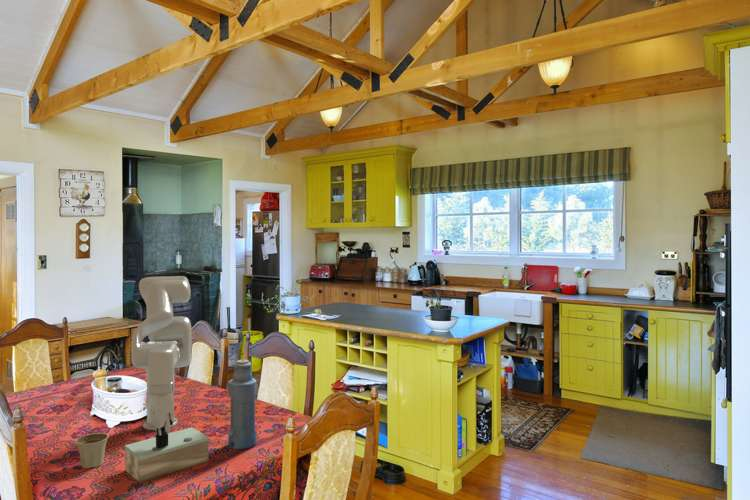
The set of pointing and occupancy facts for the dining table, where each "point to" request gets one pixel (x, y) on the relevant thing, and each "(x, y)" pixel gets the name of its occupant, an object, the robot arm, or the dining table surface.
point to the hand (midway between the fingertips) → (162, 446)
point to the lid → (174, 442)
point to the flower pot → (92, 449)
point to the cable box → (166, 462)
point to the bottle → (242, 407)
